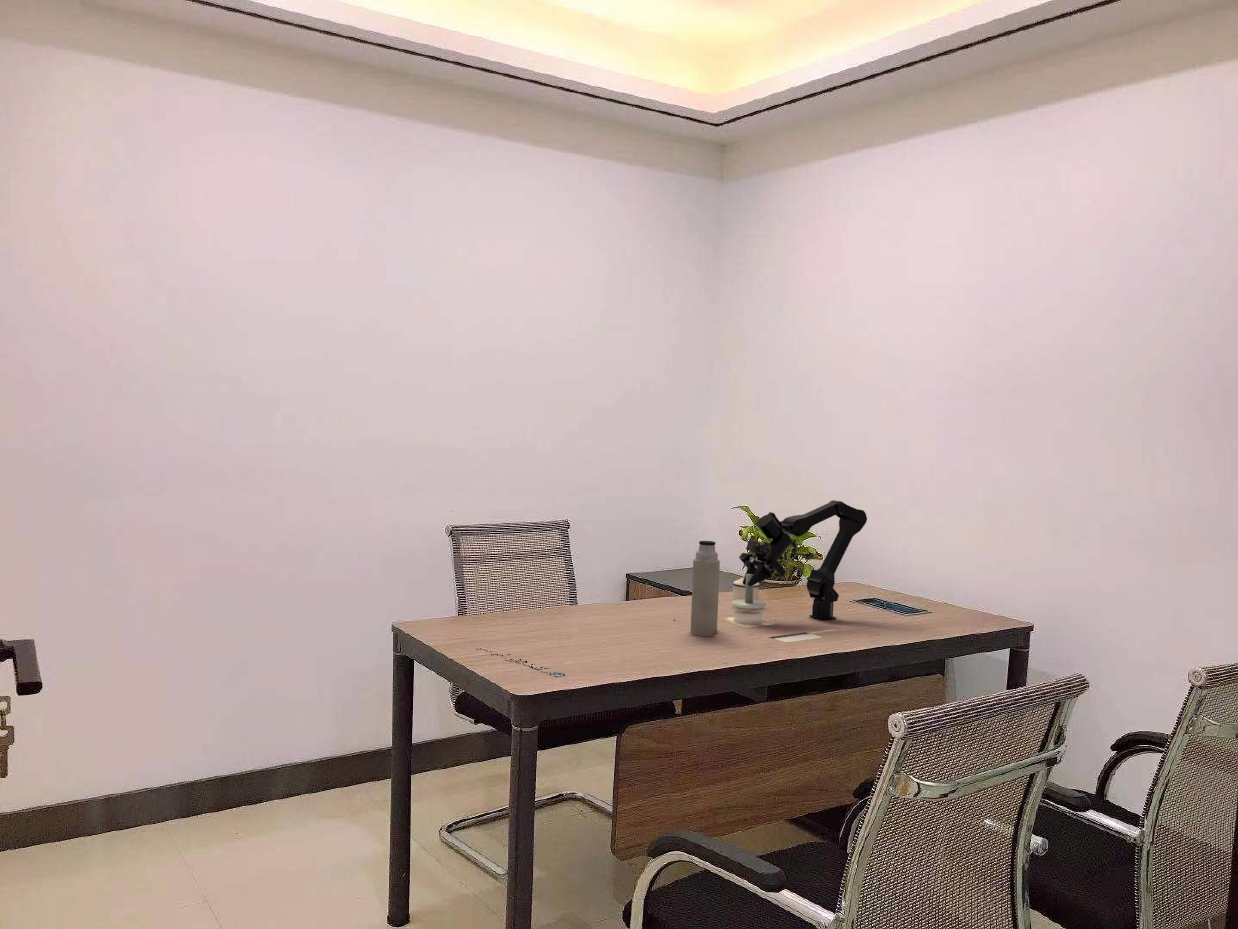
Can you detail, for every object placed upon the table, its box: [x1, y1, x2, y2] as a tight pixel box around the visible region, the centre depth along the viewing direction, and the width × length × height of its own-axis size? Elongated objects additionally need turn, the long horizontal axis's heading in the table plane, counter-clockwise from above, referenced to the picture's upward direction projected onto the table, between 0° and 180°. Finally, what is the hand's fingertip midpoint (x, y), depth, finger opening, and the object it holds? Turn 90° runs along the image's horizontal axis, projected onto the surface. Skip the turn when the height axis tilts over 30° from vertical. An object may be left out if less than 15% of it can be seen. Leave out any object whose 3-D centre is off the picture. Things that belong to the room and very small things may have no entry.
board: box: [717, 616, 780, 629], centre depth 325 cm, size 14×14×1 cm
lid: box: [730, 573, 767, 610], centre depth 324 cm, size 11×11×10 cm
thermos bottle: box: [690, 540, 721, 637], centre depth 309 cm, size 8×8×28 cm
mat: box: [768, 632, 823, 643], centre depth 310 cm, size 15×15×1 cm
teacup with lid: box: [732, 574, 760, 609], centre depth 351 cm, size 12×9×12 cm
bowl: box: [733, 608, 763, 624], centre depth 325 cm, size 9×9×3 cm
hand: (746, 584), depth 323 cm, fingers closed on lid, 2 cm apart
